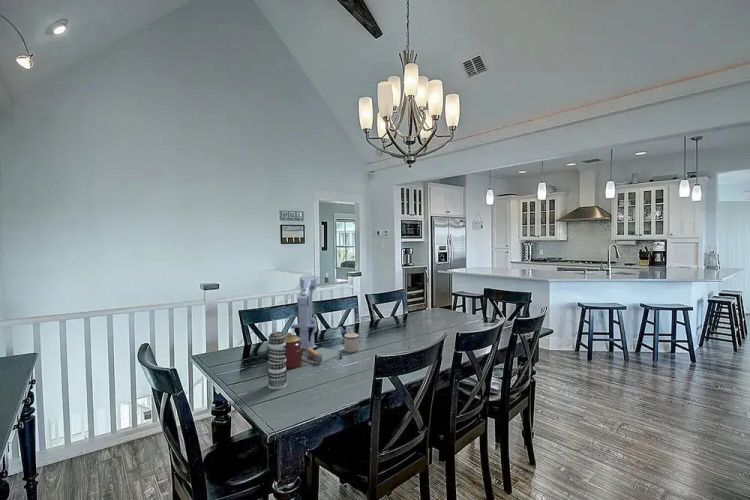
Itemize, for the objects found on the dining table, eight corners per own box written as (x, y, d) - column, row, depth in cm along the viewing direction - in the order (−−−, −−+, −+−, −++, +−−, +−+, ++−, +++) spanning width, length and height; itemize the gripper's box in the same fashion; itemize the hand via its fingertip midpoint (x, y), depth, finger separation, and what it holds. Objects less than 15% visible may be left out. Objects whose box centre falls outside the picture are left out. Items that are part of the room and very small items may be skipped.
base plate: (297, 359, 215) (296, 351, 215) (321, 349, 234) (320, 341, 234) (327, 366, 205) (327, 357, 205) (349, 354, 224) (349, 346, 224)
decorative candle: (279, 380, 186) (278, 329, 185) (291, 384, 180) (290, 332, 179) (263, 385, 179) (262, 333, 178) (275, 391, 173) (274, 336, 172)
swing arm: (323, 361, 208) (323, 355, 208) (317, 362, 206) (317, 355, 206) (310, 351, 225) (310, 345, 225) (304, 352, 223) (304, 346, 223)
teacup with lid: (359, 348, 236) (359, 329, 236) (357, 352, 227) (357, 333, 227) (340, 347, 238) (340, 329, 237) (337, 352, 229) (337, 332, 228)
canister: (296, 369, 200) (295, 336, 199) (273, 368, 202) (272, 335, 201) (305, 361, 212) (305, 330, 211) (284, 360, 215) (283, 329, 214)
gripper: (289, 318, 211) (289, 343, 212) (315, 318, 211) (316, 342, 212) (291, 316, 218) (292, 339, 219) (317, 315, 218) (317, 339, 219)
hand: (304, 340), depth 216 cm, fingers open, 5 cm apart
